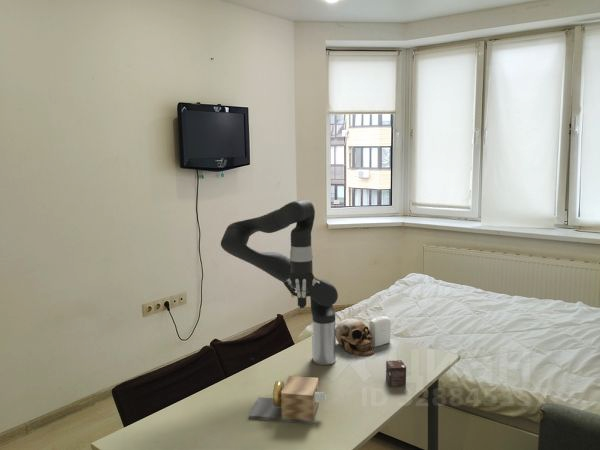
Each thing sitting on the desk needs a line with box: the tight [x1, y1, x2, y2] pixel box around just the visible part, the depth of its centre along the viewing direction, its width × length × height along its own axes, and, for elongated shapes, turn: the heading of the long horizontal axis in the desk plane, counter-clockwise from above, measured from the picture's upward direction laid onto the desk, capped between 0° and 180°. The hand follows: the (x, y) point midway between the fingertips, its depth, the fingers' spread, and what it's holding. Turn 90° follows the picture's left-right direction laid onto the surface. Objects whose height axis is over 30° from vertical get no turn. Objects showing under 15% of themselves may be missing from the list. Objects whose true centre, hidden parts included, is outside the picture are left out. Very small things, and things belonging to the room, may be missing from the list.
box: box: [385, 359, 407, 388], centre depth 176 cm, size 6×6×7 cm
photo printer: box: [368, 315, 391, 348], centre depth 211 cm, size 10×4×12 cm, turn 123°
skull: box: [335, 318, 375, 357], centre depth 208 cm, size 16×17×13 cm
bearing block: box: [248, 375, 320, 425], centre depth 157 cm, size 21×12×10 cm, turn 79°
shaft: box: [272, 380, 327, 407], centre depth 156 cm, size 16×8×8 cm, turn 79°
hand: (302, 307), depth 167 cm, fingers closed
